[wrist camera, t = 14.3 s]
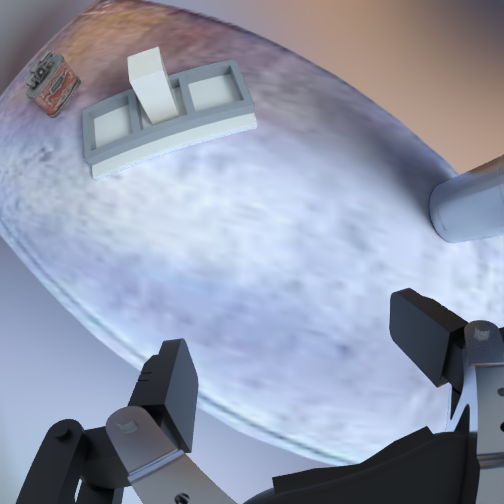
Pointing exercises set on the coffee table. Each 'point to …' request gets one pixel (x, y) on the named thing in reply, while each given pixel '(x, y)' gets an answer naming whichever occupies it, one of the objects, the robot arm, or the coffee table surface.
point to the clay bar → (152, 85)
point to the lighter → (52, 83)
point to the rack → (173, 131)
